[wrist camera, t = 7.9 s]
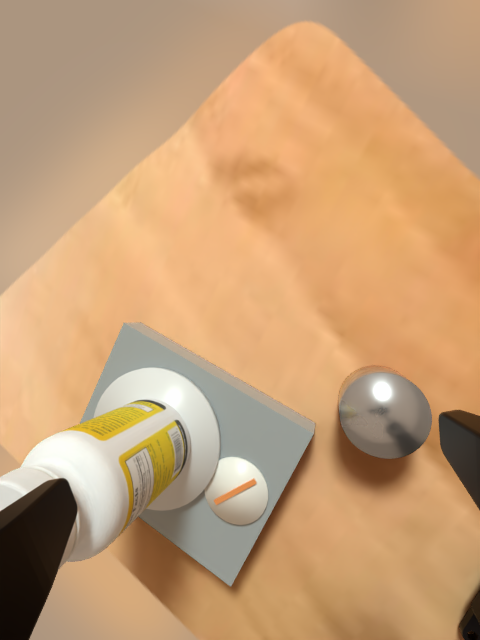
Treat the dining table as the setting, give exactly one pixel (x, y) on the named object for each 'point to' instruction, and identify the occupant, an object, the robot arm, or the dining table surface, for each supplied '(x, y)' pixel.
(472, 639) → the robot arm
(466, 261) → the dining table surface
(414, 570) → the dining table surface
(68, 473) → the supplement bottle
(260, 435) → the scale
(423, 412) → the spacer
